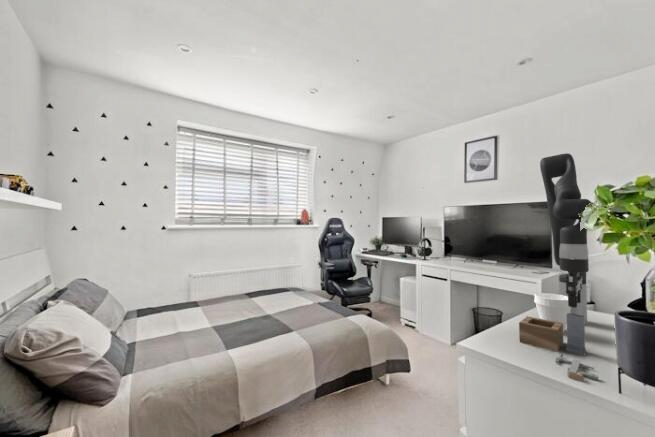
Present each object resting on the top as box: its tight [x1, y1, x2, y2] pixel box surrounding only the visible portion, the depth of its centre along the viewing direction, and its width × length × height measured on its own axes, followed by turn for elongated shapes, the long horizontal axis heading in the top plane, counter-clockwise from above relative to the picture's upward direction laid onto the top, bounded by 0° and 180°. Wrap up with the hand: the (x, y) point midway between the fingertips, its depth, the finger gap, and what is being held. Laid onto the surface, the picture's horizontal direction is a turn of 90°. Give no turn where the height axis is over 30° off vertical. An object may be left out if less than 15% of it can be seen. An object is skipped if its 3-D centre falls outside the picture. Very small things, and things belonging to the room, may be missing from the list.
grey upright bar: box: [565, 313, 587, 356], centre depth 97 cm, size 4×4×12 cm
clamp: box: [555, 352, 599, 383], centre depth 84 cm, size 15×2×10 cm
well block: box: [518, 315, 564, 352], centre depth 104 cm, size 11×11×7 cm
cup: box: [533, 292, 571, 334], centre depth 117 cm, size 12×12×14 cm
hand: (574, 304), depth 98 cm, fingers open, 8 cm apart
